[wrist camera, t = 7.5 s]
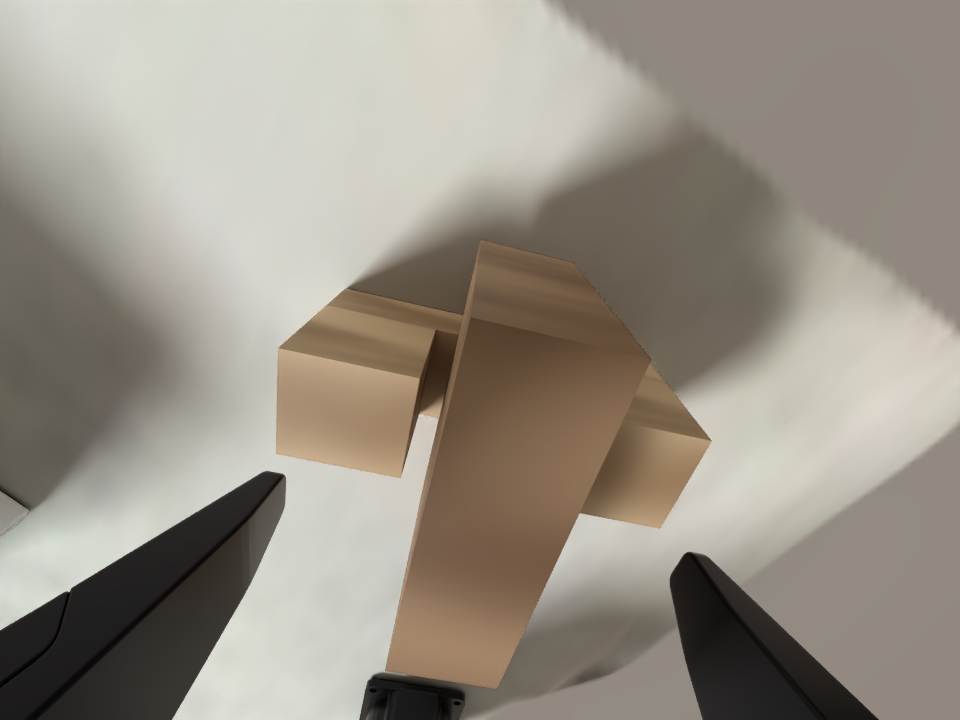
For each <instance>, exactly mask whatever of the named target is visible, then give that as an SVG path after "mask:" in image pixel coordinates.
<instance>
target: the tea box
mask: <svg viewBox="0 0 960 720" xmlns="http://www.w3.org/2000/svg"><path fill="white" fill-rule="evenodd" d="M28 514H29V510H28V509H27V508H25V507H23V506H22V505H20V504H19V503H17V502H16V501H14V500H13V499H11V498H10V497H9V496H7V495H5V494H4V493H2V492H1V491H0V538H1V537H2V536H4V535H5V534H6V533H7V532H8V531H10V530H11V529H12V528H13V527H15V526H16V525H17V524H18V523H19V522H20V521H22V520H23V519H24V518H25V517H26V516H27V515H28Z"/></svg>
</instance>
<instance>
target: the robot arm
mask: <svg viewBox="0 0 960 720" xmlns="http://www.w3.org/2000/svg"><path fill="white" fill-rule="evenodd" d="M285 494H286V477H285V475H283V474H280V473H275V472H270V471H265V472H262V473H260V474H259V475H257V476H255V477H254V478H252V479H251V480H249V481H247V482H246V483H244V484H242V485H241V486H239V487H237V488H236V489H234V490H232V491H231V492H229V493H227V494H226V495H224V496H223V497H221V498H219V499H218V500H216V501H214V502H213V503H211V504H209V505H208V506H206V507H204V508H203V509H201V510H199V511H198V512H196V513H194V514H193V515H191V516H190V517H188V518H186V519H185V520H183V521H181V522H180V523H178V524H176V525H175V526H173V527H171V528H170V529H168V530H166V531H165V532H163V533H161V534H160V535H158V536H157V537H155V538H153V539H152V540H150V541H148V542H147V543H145V544H143V545H142V546H140V547H138V548H137V549H135V550H133V551H132V552H130V553H129V554H127V555H125V556H124V557H122V558H120V559H119V560H117V561H115V562H114V563H112V564H110V565H109V566H107V567H105V568H104V569H102V570H100V571H99V572H97V573H96V574H94V575H92V576H91V577H89V578H87V579H86V580H84V581H82V582H81V583H79V584H77V585H76V586H74V587H73V588H72V589H71V590H70V592H64V593H62V594H61V595H59V596H57V597H56V598H54V599H52V600H51V601H49V602H47V603H46V604H44V605H42V606H41V607H39V608H37V609H36V610H34V611H32V612H31V613H29V614H27V615H26V616H24V617H22V618H20V619H19V620H17V621H15V622H14V623H12V624H10V625H8V626H7V627H5V628H3V629H2V630H0V720H172V719H173V717H174V715H175V714H176V712H177V710H178V708H179V707H180V705H181V703H182V702H183V700H184V698H185V696H186V695H187V693H188V691H189V689H190V688H191V686H192V684H193V683H194V681H195V679H196V677H197V676H198V674H199V672H200V671H201V669H202V667H203V665H204V664H205V662H206V660H207V659H208V657H209V655H210V653H211V652H212V650H213V648H214V646H215V645H216V643H217V641H218V640H219V638H220V636H221V634H222V633H223V631H224V629H225V628H226V626H227V624H228V622H229V621H230V619H231V617H232V615H233V614H234V612H235V610H236V609H237V607H238V605H239V603H240V602H241V600H242V598H243V597H244V595H245V593H246V591H247V589H248V587H249V586H250V584H251V581H252V579H253V577H254V575H255V573H256V571H257V569H258V566H259V564H260V562H261V560H262V557H263V555H264V553H265V551H266V549H267V546H268V544H269V542H270V540H271V538H272V535H273V533H274V531H275V529H276V526H277V524H278V522H279V520H280V518H281V515H282V513H283V510H284V507H285ZM670 589H671V594H672V599H673V604H674V608H675V613H676V618H677V623H678V628H679V633H680V638H681V643H682V648H683V652H684V656H685V660H686V664H687V668H688V671H689V675H690V678H691V682H692V685H693V688H694V692H695V695H696V698H697V701H698V705H699V708H700V712H701V715H702V719H703V720H879V719H878V718H876V716H874V715H873V714H872V713H871V712H870V711H869V710H868V709H867V708H866V707H865V706H864V705H863V704H862V703H861V702H860V701H859V700H858V699H857V698H856V697H855V696H853V695H852V694H851V693H850V692H849V691H848V690H847V689H846V688H845V687H844V686H843V685H842V684H841V683H840V682H839V681H837V680H836V678H835V677H834V676H832V675H831V674H830V673H829V672H828V671H827V670H826V669H825V668H824V667H823V666H822V665H821V664H820V663H819V662H818V661H817V660H816V659H815V658H814V657H812V656H811V655H810V654H809V653H808V652H807V651H806V650H805V649H804V648H803V647H802V646H801V645H800V644H799V643H798V642H797V641H796V640H795V639H794V638H792V636H790V635H789V634H788V633H787V632H786V631H785V630H784V629H783V628H782V627H781V626H780V625H779V624H778V623H777V622H776V621H775V620H774V619H773V618H772V617H771V616H769V615H768V614H767V613H766V612H765V611H764V610H763V609H762V608H761V607H760V606H759V605H758V604H757V603H756V602H755V601H754V600H752V598H750V597H749V596H748V595H747V594H746V593H745V592H744V591H743V590H742V589H741V588H740V587H739V586H738V585H737V584H736V583H735V582H734V581H733V580H732V579H731V578H730V577H729V576H727V575H726V574H725V573H724V572H723V571H722V570H721V569H720V568H719V567H718V566H717V565H716V564H715V563H714V562H713V561H712V560H711V559H710V558H708V557H707V556H706V555H703V554H698V553H693V552H687V553H685V554H684V555H683V557H682V558H681V560H680V561H679V563H678V564H677V566H676V567H675V569H674V570H673V572H672V574H671V576H670ZM464 705H465V695H464V694H463V693H460V692H455V691H448V690H442V689H435V688H429V687H422V686H416V685H410V684H403V683H397V682H390V681H384V680H377V679H371V680H369V681H368V682H367V686H366V690H365V695H364V700H363V705H362V709H361V714H360V719H359V720H459V717H460V715H461V712H462V710H463V707H464Z"/></svg>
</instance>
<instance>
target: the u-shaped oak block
mask: <svg viewBox="0 0 960 720" xmlns="http://www.w3.org/2000/svg"><path fill="white" fill-rule="evenodd" d="M462 317H463V315H460V314H455V313H451V312H447V311H442V310H438V309H433V308H429V307H425V306H420V305H416V304H411V303H407V302H403V301H398V300H394V299H390V298H385V297H381V296H376V295H372V294H368V293H363V292H359V291H355V290H350V289H345V290H343V291H342V292H341V293H340V294H339V295H338V296H337V297H336V298H334V299H333V300H332V301H331V302H330V303H329V304H328V305H326V306H325V307H324V308H323V309H322V310H321V311H320V312H319V313H317V314H316V315H315V316H314V317H313V318H312V319H311V320H309V321H308V322H307V323H306V324H305V325H304V326H303V327H302V328H300V329H299V330H298V331H297V332H296V333H295V334H294V335H292V336H291V337H290V338H289V339H288V340H287V341H286V342H285V343H283V344H282V345H281V346H280V347H279V348H278V380H277V430H276V454H279V455H284V456H289V457H295V458H300V459H305V460H310V461H315V462H320V463H325V464H331V465H336V466H341V467H346V468H351V469H356V470H361V471H367V472H372V473H377V474H382V475H387V476H392V477H397V478H401V475H402V471H403V468H404V464H405V461H406V457H407V454H408V450H409V447H410V443H411V440H412V436H413V433H414V429H415V426H416V422H417V419H418V415H419V414H422V415H427V416H432V417H437V418H439V416H440V412H441V408H442V403H443V399H444V395H445V390H446V386H447V382H448V378H449V373H450V369H451V365H452V360H453V356H454V352H455V348H456V343H457V339H458V335H459V330H460V326H461V322H462ZM711 442H712V441H711V439H710V438H709V437H708V436H707V434H706V433H705V432H704V431H703V429H702V428H701V427H700V426H699V424H698V423H697V422H696V420H695V419H694V418H693V417H692V415H691V414H690V413H689V412H688V410H687V409H686V408H685V406H684V405H683V404H682V403H681V401H680V400H679V399H678V398H677V396H676V395H675V394H674V392H673V391H672V390H671V389H670V387H669V386H668V385H667V384H666V382H665V381H664V380H663V378H662V377H661V376H660V375H659V373H658V372H657V371H656V370H655V368H654V367H653V366H652V364H651V363H650V364H649V366H648V368H647V370H646V372H645V374H644V376H643V379H642V381H641V383H640V385H639V387H638V389H637V391H636V394H635V396H634V398H633V400H632V402H631V404H630V406H629V408H628V411H627V413H626V415H625V417H624V419H623V421H622V423H621V426H620V428H619V430H618V432H617V434H616V436H615V438H614V440H613V443H612V445H611V447H610V449H609V451H608V453H607V455H606V458H605V460H604V462H603V464H602V466H601V468H600V470H599V472H598V475H597V477H596V479H595V481H594V483H593V485H592V487H591V490H590V492H589V494H588V496H587V498H586V500H585V502H584V505H583V507H582V509H581V511H580V513H582V514H588V515H593V516H598V517H603V518H608V519H613V520H618V521H624V522H629V523H634V524H639V525H644V526H649V527H654V528H661V526H662V524H663V523H664V521H665V519H666V518H667V516H668V514H669V513H670V511H671V509H672V508H673V506H674V504H675V502H676V501H677V499H678V497H679V496H680V494H681V492H682V491H683V489H684V487H685V486H686V484H687V482H688V481H689V479H690V477H691V475H692V474H693V472H694V470H695V469H696V467H697V465H698V464H699V462H700V460H701V459H702V457H703V455H704V453H705V452H706V450H707V448H708V447H709V445H710V443H711Z"/></svg>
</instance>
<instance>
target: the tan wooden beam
mask: <svg viewBox="0 0 960 720" xmlns="http://www.w3.org/2000/svg"><path fill="white" fill-rule="evenodd" d="M650 361H651V358H650V357H649V356H648V354H647V353H646V352H645V351H644V349H643V348H642V347H641V346H640V344H639V343H638V342H637V341H636V340H635V338H634V337H633V336H632V335H631V333H630V332H629V331H628V330H627V328H626V327H625V326H624V325H623V323H622V322H621V321H620V320H619V318H618V317H617V316H616V315H615V314H614V312H613V311H612V310H611V309H610V307H609V306H608V305H607V304H606V302H605V301H604V300H603V299H602V297H601V296H600V295H599V294H598V292H597V291H596V290H595V289H594V287H593V286H592V285H591V284H590V283H589V281H588V280H587V279H586V278H585V276H584V275H583V274H582V273H581V271H580V270H579V269H578V268H577V266H576V265H575V264H574V263H573V262H569V261H565V260H561V259H557V258H553V257H549V256H545V255H541V254H537V253H533V252H529V251H525V250H521V249H517V248H512V247H508V246H504V245H500V244H496V243H492V242H488V241H484V240H480V244H479V249H478V253H477V257H476V262H475V266H474V270H473V275H472V279H471V283H470V287H469V292H468V296H467V300H466V305H465V309H464V313H463V317H462V322H461V326H460V330H459V335H458V339H457V343H456V348H455V352H454V356H453V360H452V365H451V369H450V373H449V378H448V382H447V386H446V390H445V395H444V399H443V403H442V408H441V412H440V416H439V421H438V425H437V429H436V433H435V438H434V442H433V446H432V451H431V455H430V459H429V463H428V468H427V472H426V476H425V481H424V485H423V490H422V495H421V500H420V505H419V509H418V514H417V519H416V524H415V529H414V534H413V538H412V543H411V548H410V553H409V558H408V562H407V567H406V572H405V577H404V582H403V587H402V591H401V596H400V601H399V606H398V611H397V615H396V620H395V625H394V630H393V635H392V640H391V644H390V649H389V654H388V659H387V664H386V669H385V671H388V672H394V673H400V674H407V675H413V676H419V677H425V678H432V679H438V680H444V681H450V682H457V683H463V684H469V685H475V686H482V687H488V688H494V689H497V688H498V686H499V684H500V682H501V680H502V677H503V675H504V673H505V671H506V669H507V667H508V665H509V662H510V660H511V658H512V656H513V654H514V652H515V650H516V648H517V645H518V643H519V641H520V639H521V637H522V635H523V633H524V630H525V628H526V626H527V624H528V622H529V620H530V618H531V616H532V613H533V611H534V609H535V607H536V605H537V603H538V601H539V598H540V596H541V594H542V592H543V590H544V588H545V586H546V583H547V581H548V579H549V577H550V575H551V573H552V571H553V569H554V566H555V564H556V562H557V560H558V558H559V556H560V554H561V551H562V549H563V547H564V545H565V543H566V541H567V539H568V537H569V534H570V532H571V530H572V528H573V526H574V524H575V522H576V519H577V517H578V515H579V513H580V511H581V509H582V507H583V505H584V502H585V500H586V498H587V496H588V494H589V492H590V490H591V487H592V485H593V483H594V481H595V479H596V477H597V475H598V472H599V470H600V468H601V466H602V464H603V462H604V460H605V458H606V455H607V453H608V451H609V449H610V447H611V445H612V443H613V440H614V438H615V436H616V434H617V432H618V430H619V428H620V426H621V423H622V421H623V419H624V417H625V415H626V413H627V411H628V408H629V406H630V404H631V402H632V400H633V398H634V396H635V394H636V391H637V389H638V387H639V385H640V383H641V381H642V379H643V376H644V374H645V372H646V370H647V368H648V366H649V364H650Z"/></svg>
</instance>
